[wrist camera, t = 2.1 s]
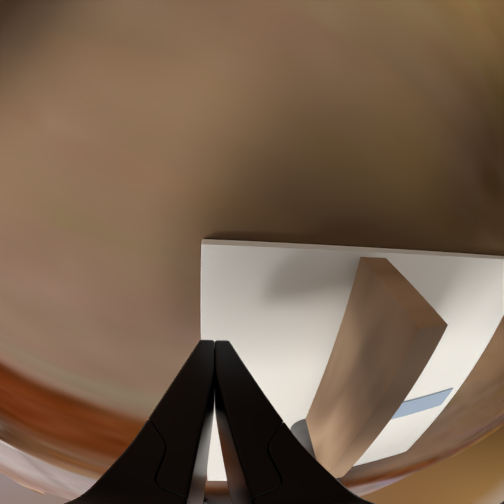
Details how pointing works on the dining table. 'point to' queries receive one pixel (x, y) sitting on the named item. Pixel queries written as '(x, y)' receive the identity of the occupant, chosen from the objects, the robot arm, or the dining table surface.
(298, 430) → the fixed panel
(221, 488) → the dining table surface
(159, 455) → the robot arm
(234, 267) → the card
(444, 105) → the dining table surface
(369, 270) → the fold panel
